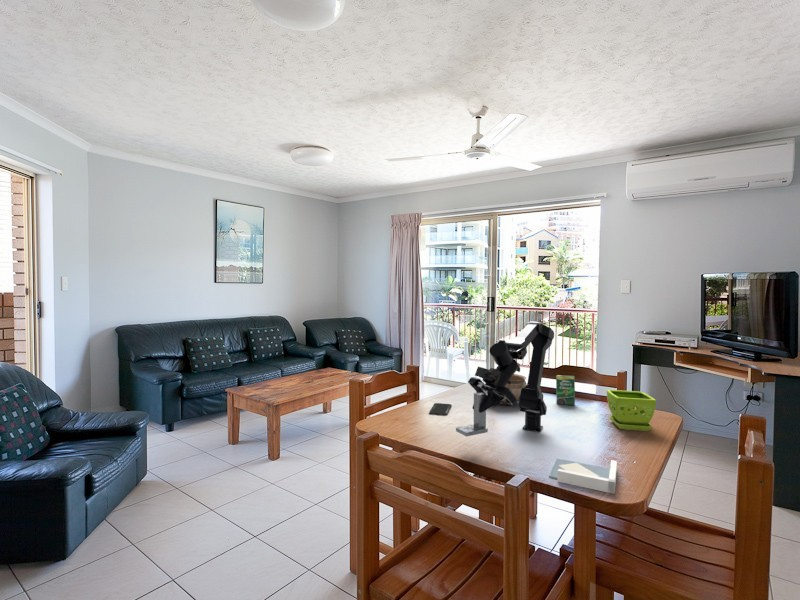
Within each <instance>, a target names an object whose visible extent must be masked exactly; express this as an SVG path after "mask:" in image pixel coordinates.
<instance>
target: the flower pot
mask: <svg viewBox="0 0 800 600" xmlns="http://www.w3.org/2000/svg"><path fill="white" fill-rule="evenodd" d="M606 399H607V400H606V401H607V405H608V408H609V410H610V413H611V415H608V416H609V418H610V421H612V422H613V423H614V425H615V426H616V427H617V428H619V430H627V431H637V430H639V431H640V432H648V431H651V430H652V428H653V426H652V424H650V422H651V421H652V419H653V417H654V413H655V411H656V406H657V405H656V404H657V400H656V399H655V398H654V397H652V396H650V395H649V394H648V393H645V392H644V391H635V390H619V389H607V390H606ZM635 408H636V409H635Z"/></svg>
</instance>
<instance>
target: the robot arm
mask: <svg viewBox="0 0 800 600" xmlns="http://www.w3.org/2000/svg"><path fill="white" fill-rule="evenodd" d="M554 338H555V331H554V330H553V329H552V328H551V327H550V326H547V325H544V324H543V323H542V322H540V321H529V322H528V321H527V323H526V324H525V327H523V328H522V330H521V331H520V332H519V333H518V334H517V336H516V337H514V338H509V339H508V340H503V339H502V340H500V339H499V340H498V342H496V343H494V344H492V345H491V346H490V347H489V354H490V356H491V357H492V359H493V361H494V362H495V364H496V365H497V366H496V368H493V367H490V368H485V367H481V366H477V369H476V371H475V374H474V376H475V377H474V376H473V377H470V378H469V379H468V381H467V383H468V385H470V386H471V388H473V389H474V390H475V393H478V392H482V393H485V394H486V399H485V400H484V402H483V403H482V405H481V407H480V408H479V410H478V411H479V412H480V413H482V412H484V411H486V412H487V410H489V409H491V408H493V407H495V406H498V405H502V403H503V402H502V400H503V399H504V398H506V402H507V403H508V404H511V405H510V406H514V405H515V404H516V403H515V402H516V396H515V395H514V394H513V393H512V391H511V390H510V389H509V388H507V387H505V386H506V384H508V385H510V384H511V382H510V381H509V380H510V379H511V377H512V376H513V375H514V374H516V372H518V373H520V372H521V366H520V365H521V364H520V363H519V362H517V360H520V361H521V360H522V361H523V359H524V358H525V357H526V356H527V353H528V350H527V348H528V346H529V345H530V344H531V345H532V353H531V359H530V366H529V372H528V377H527V382H526V384H527V385H526V386H525V387H524V388H522V389H521V394H520V397H519V402H518V407H519V412H524V414H525V415H524V425H523V426H522V430H526V431H530V432H539V433H541V431H542V430H543V428H544V426H543V425H542V416H546V415H547V412H548V410H547V405H546V403H545V401H544V394H543V392H542V389H541V385H542V378H543V371H544V366H545V365H544V364H545V359H546V353H547V350H548V349H550V348H551V346H552V343H553V340H554ZM478 377H479V378H478ZM514 403H515V404H514ZM472 410H473V411H474V403H473V405H472Z"/></svg>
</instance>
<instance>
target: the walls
mask: <svg viewBox="0 0 800 600" xmlns="http://www.w3.org/2000/svg"><path fill="white" fill-rule="evenodd" d="M609 468H610V473H609V479H607V478H602V477H597V476H592V475H587V474H582V473H577V472H572V471H567V470H562V469H558V479H557V482H558V483H562V484H567V485H573V486H576V487H581V488H586V489H590V490H591V489H592V490H596V491H599V492H600V491H601V492H604V493H608V494H614V495H615V493H616V483H617V474H618V472H617V471H618V470H617V468H618V461H617V460H614V459H613V460H612V459H611V460H610V467H609Z"/></svg>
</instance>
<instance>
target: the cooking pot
mask: <svg viewBox="0 0 800 600" xmlns="http://www.w3.org/2000/svg"><path fill="white" fill-rule="evenodd" d="M526 380H527V377H526V376H525V375H522V374H516V373H514V375H513V376H512V377H511V379H510V380H509V381H510V382H511V384H510V385H508V384H506V386H505V387H507V388H509V389H510V390H511V391H512V393H513V394H514V395H515V396H516V402H515V403H514V404H513V405H515V404H516V403H519V397H520V394H521V389H522V388H524V387H525V386H526V385H527V381H526ZM502 402H503V403H502V404H501V405H504V406H512V405H511V404H508V403H507V402H506V398H504V399H503V400H502Z"/></svg>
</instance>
